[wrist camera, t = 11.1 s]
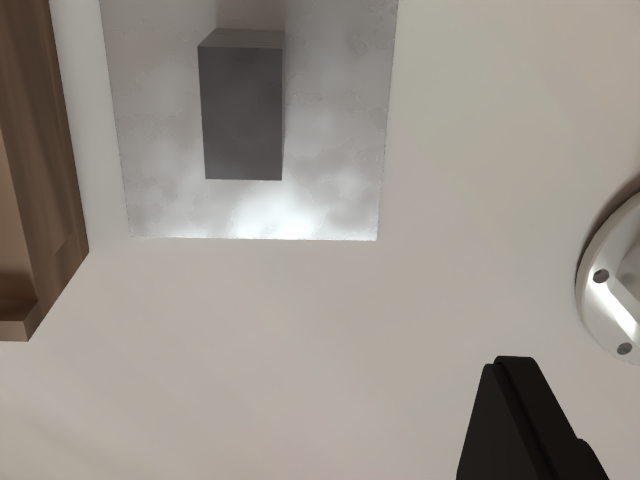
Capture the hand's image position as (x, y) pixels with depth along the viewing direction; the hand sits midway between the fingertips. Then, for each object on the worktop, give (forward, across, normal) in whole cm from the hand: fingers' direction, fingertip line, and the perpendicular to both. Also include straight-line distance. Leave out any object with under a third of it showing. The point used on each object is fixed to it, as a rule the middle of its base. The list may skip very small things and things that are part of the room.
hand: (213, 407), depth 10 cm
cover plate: (+20, +1, -1) cm, 20 cm away
